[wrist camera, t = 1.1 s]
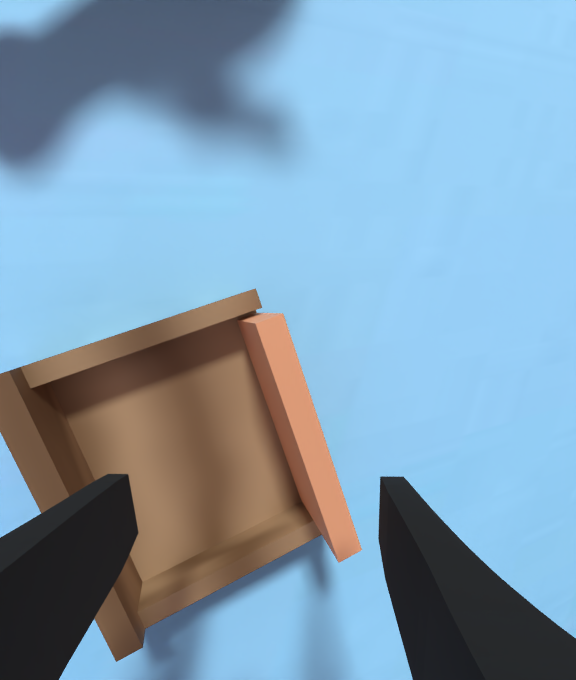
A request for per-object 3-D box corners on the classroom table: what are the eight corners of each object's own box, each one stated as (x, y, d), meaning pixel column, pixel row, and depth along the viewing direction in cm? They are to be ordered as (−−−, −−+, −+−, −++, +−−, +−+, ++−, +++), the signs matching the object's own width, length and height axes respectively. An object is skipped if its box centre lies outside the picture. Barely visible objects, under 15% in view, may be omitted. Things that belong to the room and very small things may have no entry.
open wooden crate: (131, 587, 20) (116, 661, 16) (26, 365, 18) (-25, 382, 14) (315, 495, 23) (344, 537, 19) (244, 292, 21) (259, 287, 16)
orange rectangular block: (300, 499, 21) (338, 562, 16) (236, 320, 19) (255, 323, 14) (318, 490, 21) (361, 549, 16) (257, 312, 19) (283, 313, 14)
